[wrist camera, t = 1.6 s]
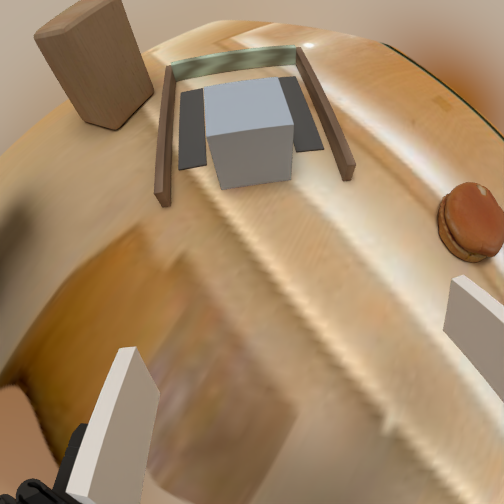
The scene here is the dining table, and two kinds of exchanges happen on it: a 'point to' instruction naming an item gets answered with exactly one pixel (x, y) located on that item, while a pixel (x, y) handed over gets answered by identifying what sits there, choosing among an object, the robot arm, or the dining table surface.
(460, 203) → the burger
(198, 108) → the pads
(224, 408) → the dining table surface
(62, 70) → the wooden block
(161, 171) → the u-shaped frame
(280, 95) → the slate block
